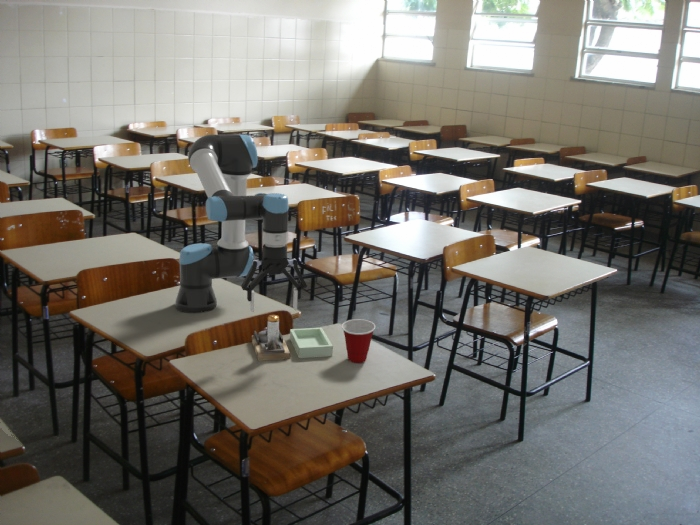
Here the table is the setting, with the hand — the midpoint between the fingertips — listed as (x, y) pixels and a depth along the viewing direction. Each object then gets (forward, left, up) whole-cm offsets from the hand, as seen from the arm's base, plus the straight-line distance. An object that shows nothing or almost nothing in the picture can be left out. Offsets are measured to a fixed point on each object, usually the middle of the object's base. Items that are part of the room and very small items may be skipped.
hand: (273, 309), depth 223 cm
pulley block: (-5, 0, -16) cm, 16 cm away
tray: (-5, +13, -16) cm, 21 cm away
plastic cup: (+7, +26, -16) cm, 31 cm away
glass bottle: (0, 0, -14) cm, 14 cm away
